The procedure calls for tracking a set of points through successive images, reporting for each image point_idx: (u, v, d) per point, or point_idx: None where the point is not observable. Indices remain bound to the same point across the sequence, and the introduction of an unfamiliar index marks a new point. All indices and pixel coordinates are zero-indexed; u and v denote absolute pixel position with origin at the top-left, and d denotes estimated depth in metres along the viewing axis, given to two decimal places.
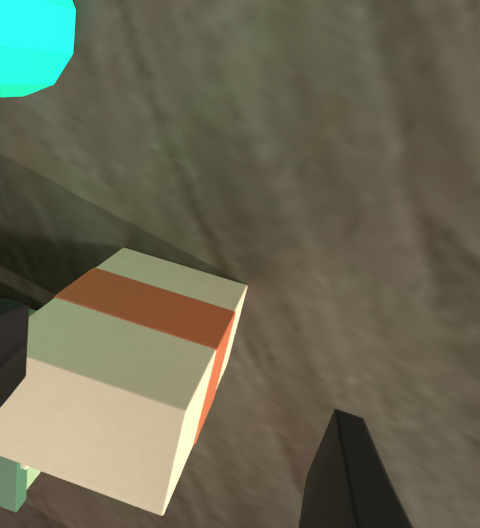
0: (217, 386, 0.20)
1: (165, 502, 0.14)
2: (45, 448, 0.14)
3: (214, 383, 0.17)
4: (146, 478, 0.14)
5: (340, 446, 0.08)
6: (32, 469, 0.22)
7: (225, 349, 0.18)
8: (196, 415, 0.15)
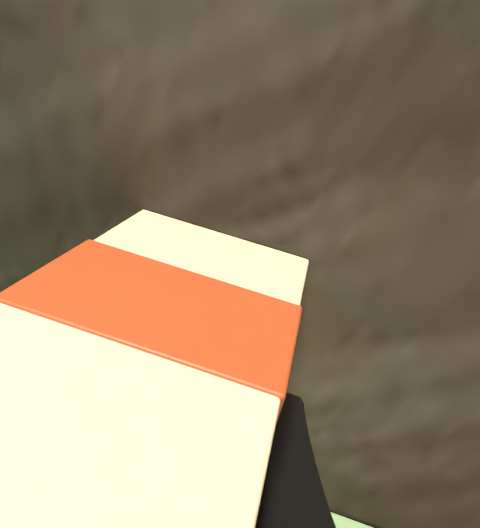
0: (299, 290, 0.09)
1: None
2: None
3: (191, 305, 0.08)
4: None
5: None
6: None
7: (150, 268, 0.09)
8: (74, 389, 0.05)
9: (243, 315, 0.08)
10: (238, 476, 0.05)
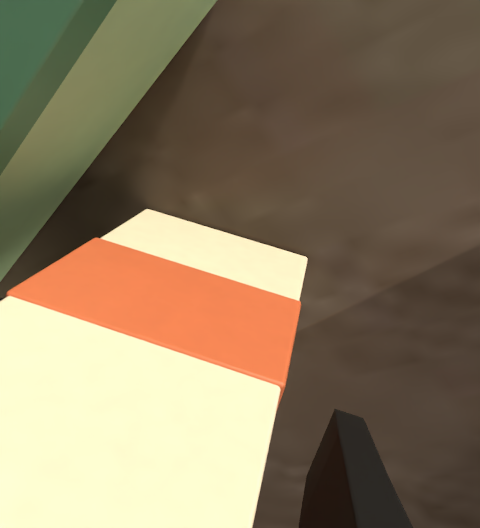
0: (298, 286, 0.10)
1: None
2: None
3: (195, 300, 0.08)
4: None
5: (340, 446, 0.08)
6: None
7: (155, 265, 0.09)
8: (87, 377, 0.06)
9: (245, 310, 0.08)
10: (241, 457, 0.05)
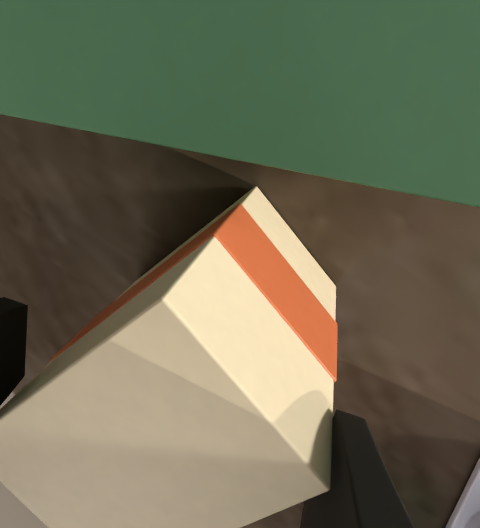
0: (334, 310, 0.14)
1: (308, 464, 0.08)
2: (129, 524, 0.09)
3: (294, 294, 0.12)
4: (247, 451, 0.08)
5: (342, 447, 0.08)
6: None
7: (273, 250, 0.12)
8: (262, 326, 0.09)
9: (316, 316, 0.12)
10: (324, 414, 0.09)
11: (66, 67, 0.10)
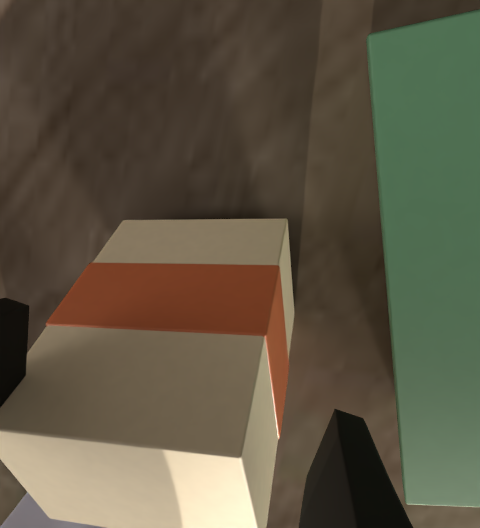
0: (289, 348, 0.16)
1: None
2: (98, 509, 0.11)
3: (281, 359, 0.14)
4: (225, 523, 0.10)
5: (340, 446, 0.08)
6: None
7: (281, 314, 0.14)
8: (265, 423, 0.11)
9: (284, 372, 0.14)
10: (270, 481, 0.12)
11: (437, 171, 0.10)
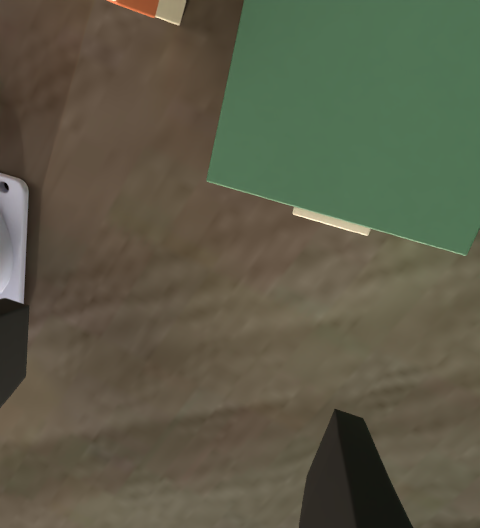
0: (162, 16, 0.15)
1: None
2: None
3: None
4: None
5: (340, 446, 0.08)
6: None
7: None
8: None
9: None
10: None
11: None
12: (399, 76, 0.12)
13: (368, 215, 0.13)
